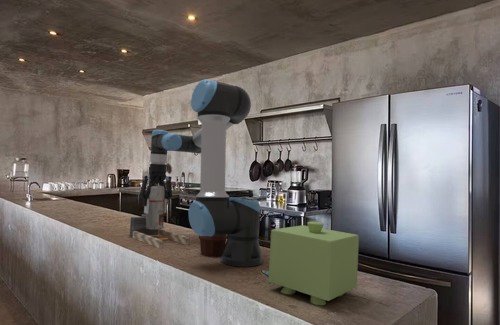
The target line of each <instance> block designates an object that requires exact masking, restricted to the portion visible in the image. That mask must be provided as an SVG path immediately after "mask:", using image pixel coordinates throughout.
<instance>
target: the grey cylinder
mask: <svg viewBox="0 0 500 325" xmlns="http://www.w3.org/2000/svg"><path fill="white" fill-rule="evenodd" d="M164 197H165V190H164V186H160V185H154V186H152V187H151V191H150V194H149V197H148V199H149V212H148V214H146V213H145V216H146V229H154V230H155V229H164V222H165V220H164V219H165V215H164V214H165V213H164Z"/></svg>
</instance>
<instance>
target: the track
mask: <svg viewBox="0 0 500 325" xmlns="http://www.w3.org/2000/svg"><path fill="white" fill-rule="evenodd" d="M129 224H130V225H129V238H132V239H134V240H137V241H140V242H142V243H145V244H147V245H150V246H152V247H155V248H157V249H163V247H164V241H166V240H170V239H171V241H174V242H177V243H180V244H182V245H185V246H186V245H190V236H186V235H182V234H179V233H177V232H173V231H170V230H166V229H164V228H162V229H155V230H154V229H146V215H144V216H130V223H129Z"/></svg>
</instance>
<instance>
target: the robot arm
mask: <svg viewBox="0 0 500 325" xmlns="http://www.w3.org/2000/svg"><path fill="white" fill-rule="evenodd" d="M251 102H252V101H251V98H250V95H249V94H248V92H247V91H246V90H245V89H244V88H242V87H240V86H237V85H233V84H229V83H224V82H220V81H217V80H216V79H215V80H213V79H211V80H210V79H207V78H206V79H202V80H200V81H199V82H198V83H197V84H196V86H195V87H194V89H193V91H192V94H191V99H190V106H191V109H192V110H193V111H194V112H195V113H197V118H196V119H197V120H198V121H199V122H200V123H201V128H200V129H198V130H197V131H196V132H195V133H194V134H193V135H183V134H177V133H175V132H174V133H172V132H169V131H168V130H162V129H153V130H152V131H151V137H150V140H151V141H150V157H149V163H150V164H149V170H148V171H149V173H148V175H142V183H141V186H140V191H139V194H138V195H139V196H138V197H139V198H142V206H143V207H144V208H143V213H144V214H145V215H146V214H148V212H149V199H148V197H149V194H150V191H151V187H152V186H156V185H157V184H158V186H164V190H165V197H164V214H166V213H167V206H169V199H170V198H172V197H173V190H172V189H173V188H172V176H170V175H169V176H168V175H166V173H167V166H168V165H166V164H167V163H168V152H169V151H170V152H178V153H179V152H180V153H189V154H190V153H191V154H198V155H199V154H200V186H199V187H200V188H199V189H200V190H199V192H198V194H196V196H195V201H193V202H191V203H190V205H189V208H188V221H189V225H190V227H191V229H192V231H193V232H194V233H195V234H196V235H197V236H198V237H199V236H213V235H226V236H227V239H226V243H225V246H224V249H223V251H222V254H221V256H220V261H221V262H222V263H223V264H225V265H228V266H233V267H243V268H244V267H245V268H247V267H249V268H250V267H256V266H259V265H261V264H262V263H263V254H262V250H261V247H260V242H259V237H260V236H259V234H260V221H261V220H260V219H261V218H260V217H261V204H260V202H259V201H257V200H253V199H252V200H251V199H244V198H240V197H234V196H231V197H230V195H229V194H228V193H227V192H226V159H227V158H226V152H227V151H226V146H227V145H226V144H227V131H228V130H229V129H230V128H231V127H232V126H234V125H239V124H240V123H241V122H243V121H244V120H245V119H247V117H248V115H249V113H250V112H251V107H252V103H251ZM148 180H149V181H148Z"/></svg>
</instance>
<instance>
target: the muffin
mask: <svg viewBox="0 0 500 325" xmlns="http://www.w3.org/2000/svg"><path fill="white" fill-rule="evenodd" d="M198 239H199V242H200V243H199V245H200V255H202V256H205V257H221V254H222V251H223V249H224V246H225V244H226V241H227V234H225V235H213V236H199V235H198Z"/></svg>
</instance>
